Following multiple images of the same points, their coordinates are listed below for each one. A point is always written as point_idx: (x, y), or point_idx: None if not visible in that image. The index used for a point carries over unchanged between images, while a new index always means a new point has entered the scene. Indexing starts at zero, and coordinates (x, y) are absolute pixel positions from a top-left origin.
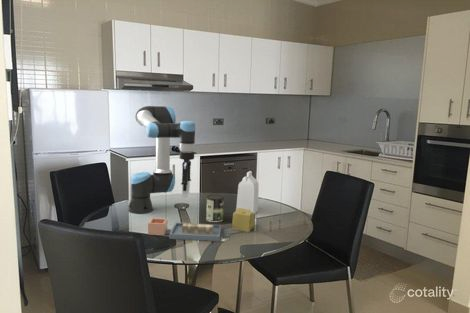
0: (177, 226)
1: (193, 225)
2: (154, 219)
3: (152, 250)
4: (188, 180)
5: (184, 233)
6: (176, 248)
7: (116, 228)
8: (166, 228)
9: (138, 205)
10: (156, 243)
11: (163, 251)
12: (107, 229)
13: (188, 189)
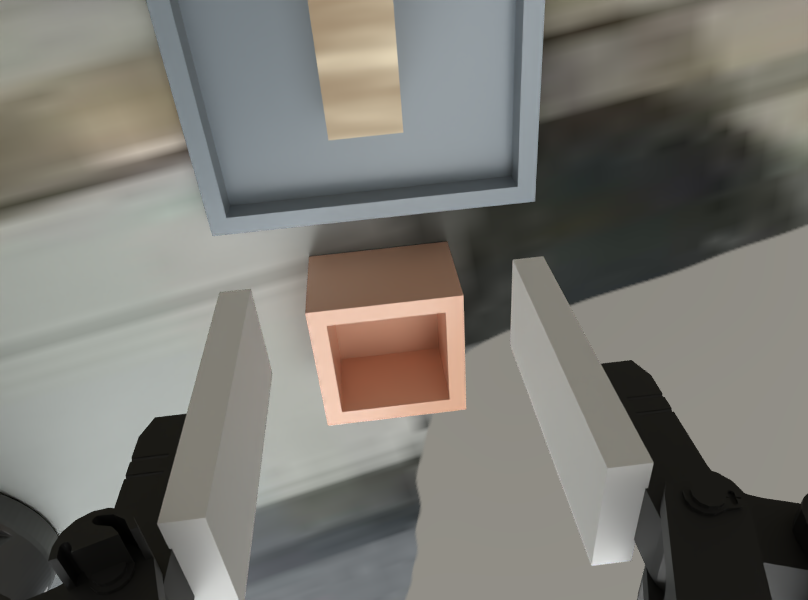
0: (246, 193)
1: (359, 6)
2: (340, 399)
3: (757, 229)
4: (159, 571)
5: (420, 78)
6: (738, 64)
7: (386, 521)
8: (355, 264)
9: (17, 586)
10: (626, 243)
11: (787, 150)
12: (413, 546)
13: (244, 360)
